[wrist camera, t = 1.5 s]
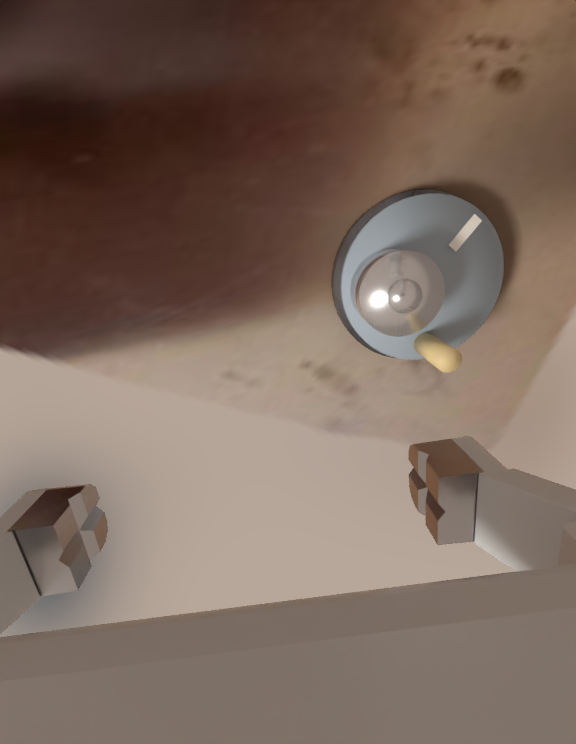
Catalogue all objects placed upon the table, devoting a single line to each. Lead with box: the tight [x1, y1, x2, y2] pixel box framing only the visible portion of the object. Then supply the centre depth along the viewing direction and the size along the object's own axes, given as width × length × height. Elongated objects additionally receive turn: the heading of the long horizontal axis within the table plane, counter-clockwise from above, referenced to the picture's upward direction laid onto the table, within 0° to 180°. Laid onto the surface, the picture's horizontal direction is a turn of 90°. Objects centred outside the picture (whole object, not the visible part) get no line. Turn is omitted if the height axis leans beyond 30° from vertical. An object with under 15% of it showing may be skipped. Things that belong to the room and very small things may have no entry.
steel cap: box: [350, 249, 445, 337], centre depth 24 cm, size 5×5×4 cm
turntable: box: [340, 193, 504, 373], centre depth 24 cm, size 11×11×5 cm
